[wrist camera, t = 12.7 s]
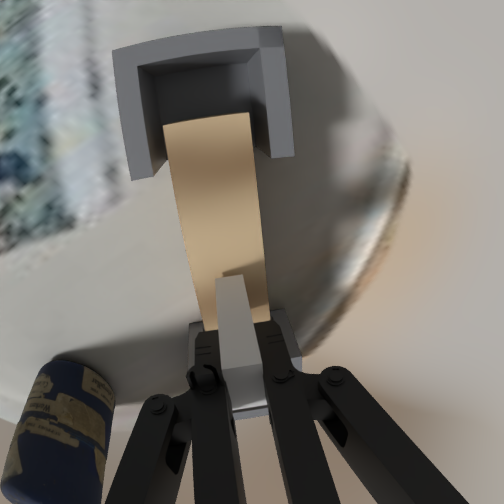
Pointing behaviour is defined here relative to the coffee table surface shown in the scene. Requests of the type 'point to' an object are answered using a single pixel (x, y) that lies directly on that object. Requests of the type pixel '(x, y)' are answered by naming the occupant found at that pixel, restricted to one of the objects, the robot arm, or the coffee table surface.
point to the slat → (218, 207)
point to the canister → (61, 438)
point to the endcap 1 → (202, 89)
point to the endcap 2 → (291, 344)
